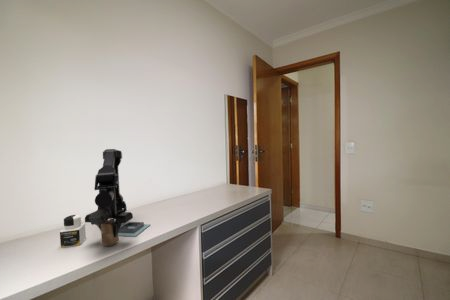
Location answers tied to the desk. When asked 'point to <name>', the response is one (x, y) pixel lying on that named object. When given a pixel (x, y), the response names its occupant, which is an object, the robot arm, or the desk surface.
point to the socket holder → (132, 229)
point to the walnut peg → (108, 233)
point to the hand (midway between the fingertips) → (110, 236)
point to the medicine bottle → (72, 231)
